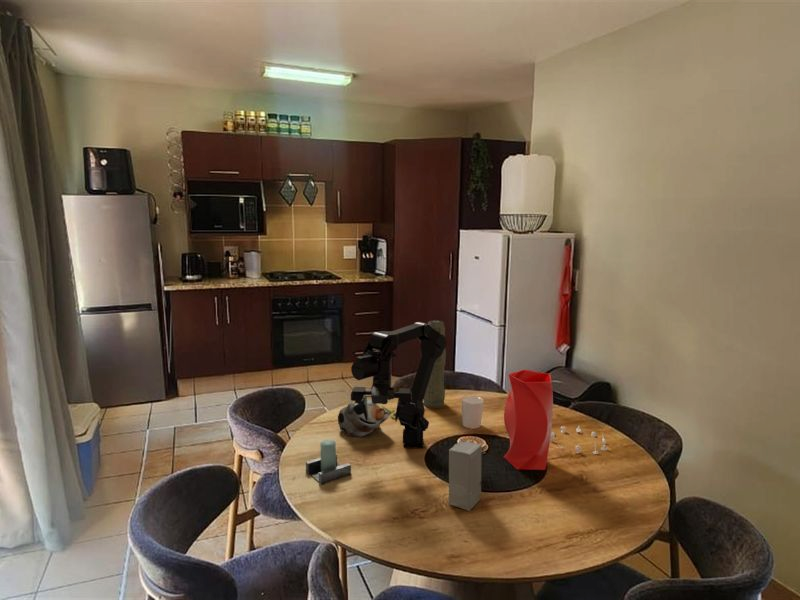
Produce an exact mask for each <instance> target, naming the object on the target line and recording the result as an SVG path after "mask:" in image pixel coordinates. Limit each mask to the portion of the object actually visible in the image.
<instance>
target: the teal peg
mask: <svg viewBox="0 0 800 600" xmlns="http://www.w3.org/2000/svg"><path fill="white" fill-rule="evenodd" d="M336 445H337V443H336V441H335V440H332V439H327V440H326V439H325V440H322V441H321V442H320V457H321V472H322V471H325V470H328V469H331V468H334V467H336V454H337V451H336V450H337V449H336V448H337V446H336Z"/></svg>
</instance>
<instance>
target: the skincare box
mask: <svg viewBox="0 0 800 600" xmlns="http://www.w3.org/2000/svg"><path fill="white" fill-rule="evenodd" d="M482 446H483V445H482V444H481V443H477V442H476V443H475V442H471V441H467V440H463V439H462V440H460V441H459V442H457V443H455V444H454V445H453V446H452V447H451V448H449V449H448V504H449V505H450V506H453V507H456V508H460V509H463V510H466V511H468V512H471V510H472V509H473V508H474V507H475V506H476V505H477V503H479V501H480V500H481V498H482V450H483V449H482V448H483V447H482Z"/></svg>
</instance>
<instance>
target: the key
mask: <svg viewBox="0 0 800 600" xmlns="http://www.w3.org/2000/svg"><path fill="white" fill-rule="evenodd" d="M380 408H382V409H384V410H385V411H388V412H390V419H392V420H395V416H396V410H394V409H390V408H389V407H387V406H385V405H384V404H381V406H380Z"/></svg>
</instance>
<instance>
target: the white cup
mask: <svg viewBox="0 0 800 600" xmlns="http://www.w3.org/2000/svg"><path fill="white" fill-rule="evenodd" d="M483 409H484V399H483V398H482V397H479V396H474V395H467V396H464V397H462V398H461V418H462V421H461V422H462V426H463V427H464V428H467V429H474V430H475V429H479V428H481V425H482V417H483Z"/></svg>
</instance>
